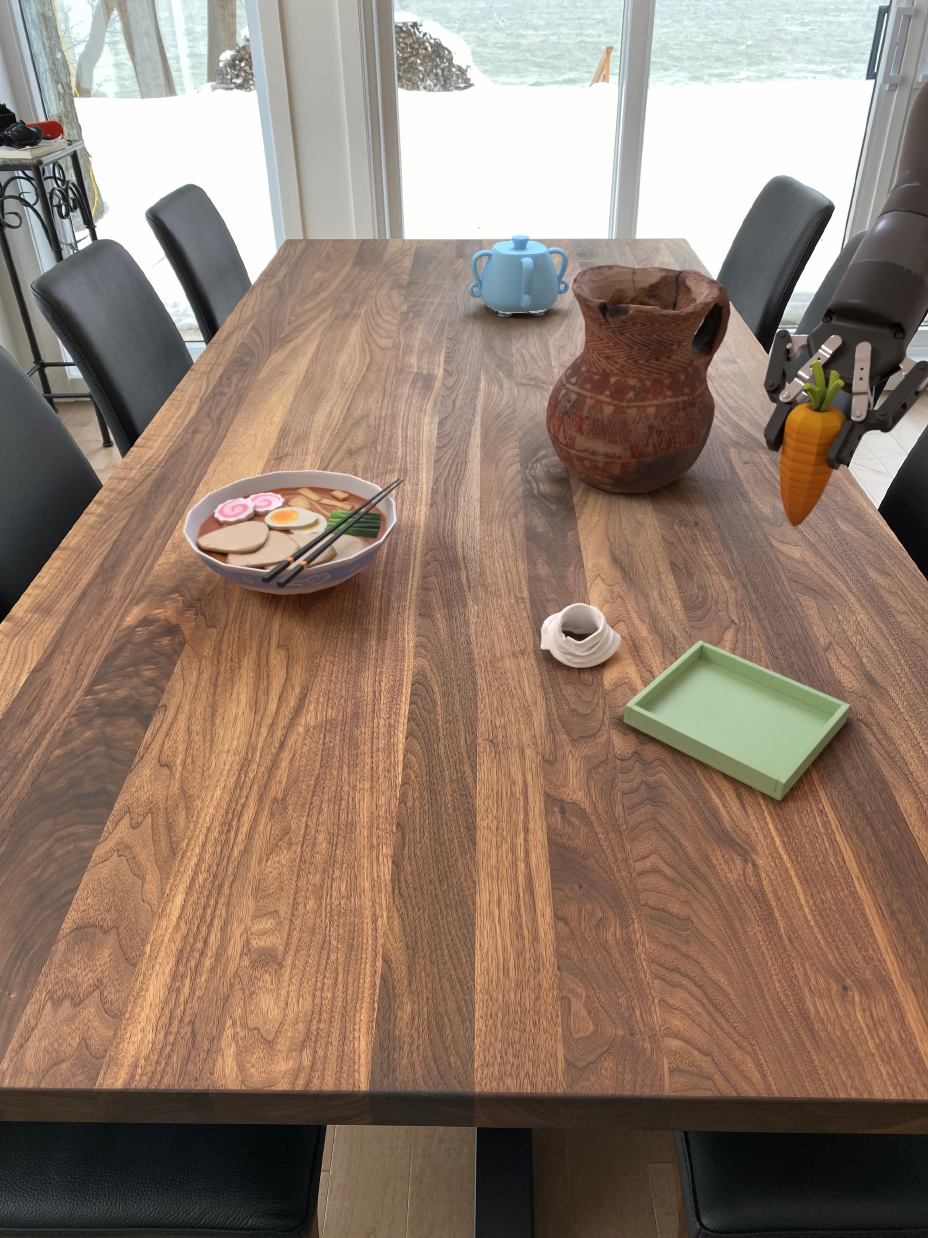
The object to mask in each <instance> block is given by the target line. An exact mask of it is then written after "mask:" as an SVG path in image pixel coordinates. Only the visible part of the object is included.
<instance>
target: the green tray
mask: <svg viewBox="0 0 928 1238" xmlns="http://www.w3.org/2000/svg"><path fill="white" fill-rule="evenodd" d="M850 709H851V704H849V703H847V702H844V701H843V700H840V699H838V698H835V697H834V696H831V695H828V694H826V693H824V692H821V691H819V690H817V689H815V688H813V687H811V686H808V685H805V684H803V683H801V682H799V681H796V680H794V679H791V678H789V677H787V676H785V675H782V674H779V673H777V672H776V671H773V670H770V669H768V668H766V667H763V666H761V665H759V664H756V663H754V662H752V661H749V660H747V659H745V658H742V657H741V656H738V655H735V654H733V653H731V652H729V651H726V650H724V649H722V648H720V647H717V646H715V645H713V644H710V643H707V642H705V641H703V640H701V639H699V640H698V641H697V642H696V643H695V644H693V645H692V646H691V647H690V648H689V649H688V650H687V651H685V652H684V653H683V654H682V655H681V656H680V657H679V658H678V659H676V660H675V661H674V662H673V663H672V664H670V665H669V666H668V667H667V668H666V669H665V670H664V671H662V672H661V673H660V674H659V675H658V676H657V677H656V678H655V679H653V680H652V681H651V682H650V683H649V684H647V686H645V688H643V689H642V690H641V691H639V692H638V693H637V694H636V695H635V696H634V697H632V699H631V700H630V701H628V702H627V703H626V704H625V707H624V714H623V721H622V722H623V723H624V724H626V725H628V726H631V727H633V728H635V729H636V730H638V731H640V732H642V733H644V734H646V735H648V736H650V737H652V738H654V739H656V740H658V741H660V742H662V743H664V744H665V745H667V746H670V747H672V748H674V749H676V750H678V751H679V752H681V753H684V754H685V755H688V756H690V757H692V758H694V759H696V760H698V761H700V762H701V763H704V764H705V765H707V766H710V767H711V768H714V769H716V770H718V771H719V772H721V773H724V774H725V775H727V776H728V777H732V778H734V779H736V780H737V781H739V782H741V783H742V784H745V785H747V786H749V787H751V788H753V789H755V790H757V791H759V792H761V793H763V794H765V795H767V796H769V797H771V798H773V799H775V800H777V801H779V802H781V801H782V799H784V797H785V796H786V795H787V793H788V792H789V791H790V789H792V787H793V786H794V785H795V784H796V783H797V781H798V780H800V778H801V777H802V775H803V774H804V773H805V772H806V770H807V769H808V768H809V767H810V765H812V764H813V762H814V761H815V760H816V758H817V757H818V756H819V755H820V753H821V752H823V750H824V749H825V747H826V746H828V744H829V743H830V741H831V740H832V739H833V738H834V737H835V736H836V734H837V733H838V732H839V731H840V730H841V728H843V726H844V725H845V724H846V723H847V719H848V716H849V712H850Z"/></svg>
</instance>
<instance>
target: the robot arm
mask: <svg viewBox="0 0 928 1238" xmlns="http://www.w3.org/2000/svg"><path fill="white" fill-rule="evenodd" d="M831 297H832V298H831V300H830V302H829V303H828V306H827V307H826V310H825V311H824V313H823V316H822V319H821V321H820V322H819V324H817V326H815V328H813V329H812V330H811V331H809V333H808V334H791V333H790V331H789V330H788V329H786V328H781V329H779V330H778V331H776V333H775V336H774V340H773V344H772V348H771V353H770V358H769V360H768V361H769V362H768V366H767V369H766V374H765V378H764V383H763V387H764V390H765V392H766V395H767V397H768V399H769V401H770V402H771V403H773V404H776V406H775V408H774V410H773V412H772V414H771V416H770V418H769V420H768V421H767V424H766V425H765V428H764V429H763V437H764V439H765V445H766V446H767V448H768V450H769V451H772V452H774V453H778V452H780V449H782V443H783V436H784V430H785V424H786V420H787V417H788V415H789V414H790V413H791V411H792V410H793V409H794V408H795V407H796V406H798V405H799V404H803V403H808V401H810V400H811V399H810V397H809V395H808V393H807V391H806V390H804V387H803V385H804V384H805V383H811V384H813V385H814V386H815V387H816V383H815V379H814V375H813V371H812V367H811V363H813V362H814V361H820V362H821V366H822V369H823V373H824V378H825V386H826V389H828V386H829V378H830V372H831V371H836V372H837V373H838V374H839V379H840V380H842V381H843V382H844V385H843V386H842V388H841V389H840V390H841V391H843V392H845V393H847V394H849V395H852V399H851V400H852V401H851V410H850V418H849V420H847V419H846V420H845V421H844V423H843V425H842V427H841V429H840V431H839V433H838V435H837V437H836V439H835V441H834V443H833V445H832V447H831V449H830V451H829V453H828V455H827V458H826V462H827V465H828V467H829V468H831V469H834V470H835V471H838V470H839V469H840V467H841V466H842V465H843V466H847V465H848V464H850V462H851V460H852V459H853V457H854V455H855V452H856V450H857V449H858V447H859V445H860V443H861V441H862V439H863V437H864V435H866V434H867V433H869V432H870V431H871V432H872V431H880V432H881V433H883V434H888V433H890V432H892V431H893V429H894V428H895V427H896V426H897V425H898V424H899V422H900V421H901V420H902V419H903V418H904V417H905V416H906V414H907V413H908V412H909V411H910V410H911V408H913V406H914V405H915V404H916V403H917V401H918V400H919V399H920V398H921V397H922V396H923V394H924V393H925V392H926V391H927V390H928V360H919V361H916V360H913V359H912V358H910V357H908V356H907V350H908V347H909V346H910V343H911V341H912V339H913V338H914V335H915V334H916V332H917V330H918V327H919V325H920V324H921V322H922V319H923V318H924V316H925V314H926V312H927V310H928V77H926V78H925V80H924V82H923V83H922V84H921V86H920V87H919V90H918V91H917V93H916V94H915V96H914V99H913V101H912V104H911V106H910V108H909V112H908V115H907V119H906V123H905V127H904V131H903V137H902V142H901V148H900V153H899V157H898V161H897V166H896V171H895V178H894V183H893V185H892V187H891V189H890V191H889V192H888V195H887V197H886V199H885V201H884V203H883V204H882V206H881V208H880V211H879V213H878V214H877V217H876V218H875V220H874V221H873V224H872V225H871V227H870V229H868V231H867V233H866V234H865V235H864V237H863V238H862V240H861V242H860V243H859V245H858V247H857V249H856V251H855V252H854V254H853V256H852V258H851V260H850V262H849V264H848V266H847V268H846V270H845V272H844V274H843V276H842V277H841V280H840V282H839V284H838V286H837V288H836V290H835V291H834V293H833V296H831ZM806 350H807V351H808V357H809V360H808V361H807V362H806V363H804V364H803V366H802V367H800V369H799V370H798V371H797V372H796V375H795V378H793V380H791V382H790V383H789V384H788V385H787V383H788V378H789V375H790V369H791V366H792V362H796V361H797V360H798V359H799V357H800V355H801V353H803V352H804V351H806ZM899 372H900V373H899ZM897 373H899V375H898V382H899V383H898V384H897V385H896V387H894V389H893V390H892V391H891V393H890V394H889V395H888V396H887V397H886V398H885V400H884V401H882V403H881V404H880V406H879V407H877V409H873V408H874V399H875V387H876V386H877V385H879V384H881V383H882V382H884V381H886V380H887V379H889V378H890V377H892V376H894V375H896V374H897Z"/></svg>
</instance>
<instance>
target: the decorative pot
mask: <svg viewBox="0 0 928 1238" xmlns="http://www.w3.org/2000/svg"><path fill="white" fill-rule="evenodd" d="M552 254H557V255H560V256H561V258H562V263H561V266H560V269H559V272H558V274H557V270H556V267H555V264H554V261H553V258H552ZM483 257H487V258H486V261H485V262H484V265H483V268H482V272H481V275H480V274H479V271H478V266H477V265H478V264H477V263H478V260H479V259H480V258H483ZM568 265H569V257H568V254H567V253H566V252H565V251H564V250H563V249H562V248H560V247H556V246H555V247H553V246H552V247H549V248H547V246H546V245H544V244H543V243H541V242H539V241H535V240H530V237H529V236H528V235H526V234H515V235H512V236H511V239H510V240H505V241H499V242H496V243H495V244H493V246H492V248H491V249H490V250H489V249H481V250H479V251H476V253H474V254H473V256H472V257H471V259H470V269H471V272H472V275H473V276H472V277H473V279H474V281H475V282H472V283H471V284H470V285H469V286H468V294H469V296H470V297H472V298H476V299H477V298H481V299H482V301H483V302H484V304H485V306H486V307H487V306H489V307H490V308H492V309H494V310H497V311H502V312H529V311H538V310H545V309H549V308H550V309H551V308H552V307H553V306H554V305H555V303H556V301H557V299H558V297H559V295H564V294H566V293H567V292H568V291H569V287H570V284H569V282H568V280H566V279H563V278H564V276H565V274H566V272H567V270H568V269H567V268H568ZM561 285H564V286H563V287H562V288H561ZM474 288H477V290H476V291H474ZM489 307H488V308H489ZM490 308H489V309H490ZM492 309H491V310H492ZM550 309H549V310H550ZM497 313H498V314H497V316H498V317H501V318H508V317H512V315H513V314H506V313H499V312H497ZM530 314H531V315H532V316H543V315H545V312H539V313H530Z"/></svg>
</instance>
